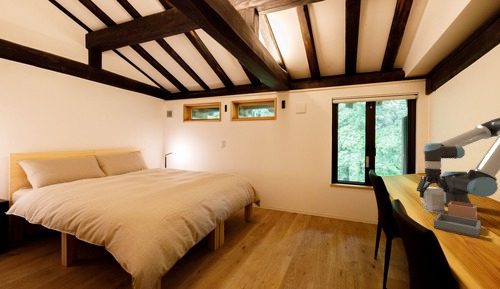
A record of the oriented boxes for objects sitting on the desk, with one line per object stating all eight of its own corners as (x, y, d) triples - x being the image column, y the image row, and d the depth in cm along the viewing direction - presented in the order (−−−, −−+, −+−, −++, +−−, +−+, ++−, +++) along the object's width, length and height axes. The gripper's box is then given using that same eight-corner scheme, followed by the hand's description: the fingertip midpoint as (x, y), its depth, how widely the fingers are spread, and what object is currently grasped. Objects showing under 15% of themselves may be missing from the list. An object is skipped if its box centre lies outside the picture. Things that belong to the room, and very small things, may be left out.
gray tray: (439, 220, 110) (439, 213, 110) (480, 228, 99) (480, 220, 99) (433, 228, 101) (433, 220, 101) (479, 238, 89) (479, 229, 89)
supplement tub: (446, 212, 122) (446, 188, 122) (442, 215, 117) (441, 190, 117) (426, 208, 130) (425, 185, 131) (421, 211, 125) (420, 187, 125)
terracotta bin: (450, 216, 116) (450, 200, 116) (477, 221, 108) (476, 204, 108) (448, 220, 110) (448, 204, 110) (475, 226, 102) (475, 208, 102)
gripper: (444, 166, 129) (444, 200, 129) (408, 167, 126) (409, 201, 126) (457, 168, 121) (458, 203, 121) (420, 169, 119) (420, 205, 119)
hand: (433, 202), depth 124 cm, fingers open, 13 cm apart
